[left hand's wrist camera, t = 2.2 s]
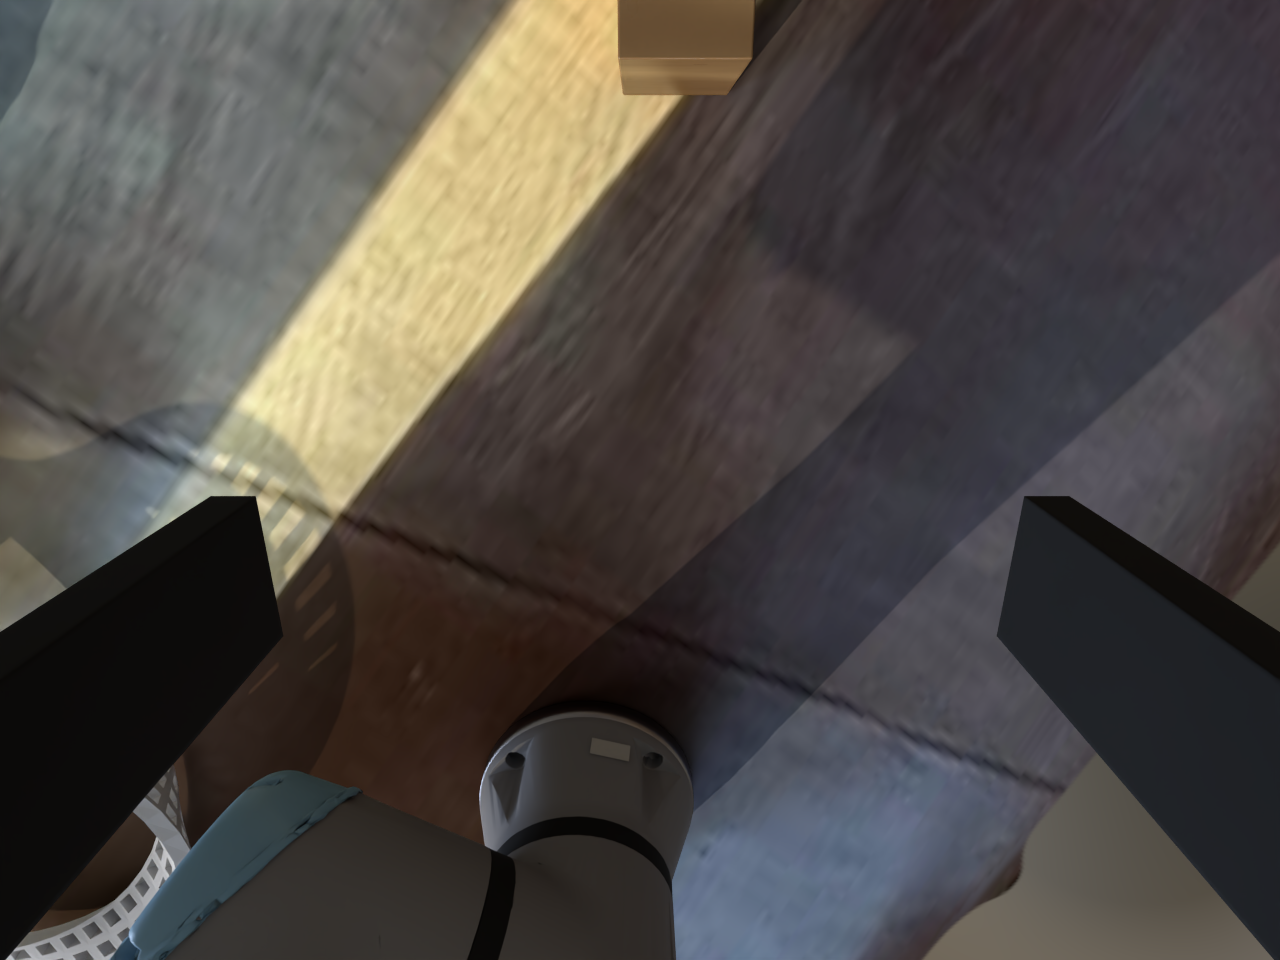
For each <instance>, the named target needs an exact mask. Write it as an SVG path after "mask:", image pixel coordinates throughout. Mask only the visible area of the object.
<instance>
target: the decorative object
mask: <svg viewBox="0 0 1280 960" xmlns="http://www.w3.org/2000/svg"><path fill="white" fill-rule="evenodd" d="M133 812H134V813H135V814H136V815H137V816H138V817H139V818H140V819H142V820H143V821H144V822H145V823H146V825H147V826H148V827H149V828H150V829H151V830H152V832H153V833H154V834H155V835H156V836H157V837H156V840H155V843H154V846H153V849H152V852H151V853H150V855H149V857H148V859H147V861H146V863H145V865H144V866H143V868H142V870H141V871H140V872H139V874H138V875H137V876H136V878H135V879H134V880H133V882H132V883H131V884H130V886H129V887H128V888H127V889H126V890H125V891H124V892H123V893H122V894H121V895H120V896H119V897H118V898H117V899H116V900H114V901H113V902H111V903H110V904H108V905H106V906H104V907H102V908H100V909H98V910H96V911H94V912H92V913H90V914H88V915H86V916H84V917H81V918H78V919H76V920H73V921H70V922H67V923H65V924H62V925H59V926H55V927H51V928H47V929H43V930H39V931H36V932H30V933H28V934H27V936H26V937H25V938H24V939H23V940H22V941H21V943H20V944H19V945H18V946H17V947H16V948H15V950H14V951H13V952H12V953H11V954H10V955H9V957H8V958H7V959H6V960H109V959H110V958H111V957H112V956H113V955H114V953H115V952H116V950H117V949H118V947H119V946H120V944H121V943H122V942H123V940H124V939H125V938H126V937H128V936H129V931H130V928H131V927H132V925H133V924H134V923H135V921H136V920H137V918H138V917H139V915H140V914H141V913H142V911H143V910H144V908H145V907H146V906H147V904H148V903H149V902H150V900H151V899H152V898H153V897H154V895H155V894H156V893H157V891H158V890H159V889H160V887H161V886H162V885H163V884H164V882H165V881H166V880H167V878H168V877H169V876H170V875H171V873H172V872H173V871H174V870H175V868H176V867H177V866H178V865H179V863H180V862H181V861H182V860H183V858H184V857H185V856H186V855H187V854H188V852H189V851H190V850H191V847H190V843H189V840H188V836H187V833H186V829H185V826H184V822H183V818H182V812H181V807H180V801H179V787H178V782H177V777H176V773H175V768H174V765H172V766H171V768H170V769H169V770H168V771H167V772H166V773H165V775H164V776H163V777H162V778H161V779H160V780H159V782H158V783H157V784H156V785H155V786H154V787H153V789H152V790H151V791H150V792H149V793H148V794H147V796H146V797H145V798H144V799H143V800H142V801H141V803H140V804H139V805H138V806H137V807H136V808H135V810H134V811H133Z"/></svg>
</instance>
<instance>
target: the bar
mask: <svg viewBox="0 0 1280 960" xmlns="http://www.w3.org/2000/svg"><path fill="white" fill-rule="evenodd" d="M754 21H755V0H618V59H619V67H620V74H621V82H622V89H623V94H624V95H727V94H728V93H729V91H730V90H731V88H732V87H733V86H734V84H735V83H736V81H737V80H738V78H739V77H740V76H741V74H742V73H743V71H744V70H745V68H746V67H747V66H748V64H749V63H750V61H751V60H752V58H753V42H754Z"/></svg>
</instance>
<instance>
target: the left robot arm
mask: <svg viewBox="0 0 1280 960" xmlns="http://www.w3.org/2000/svg"><path fill="white" fill-rule="evenodd" d="M282 637H283V632H282V627H281V622H280V617H279V612H278V607H277V602H276V597H275V592H274V587H273V582H272V577H271V572H270V567H269V561H268V556H267V551H266V546H265V541H264V536H263V531H262V526H261V521H260V516H259V511H258V506H257V501H256V496H210V497H209V498H207V499H206V500H204V501H203V502H201V503H200V504H198V505H196V506H195V507H193V508H192V509H190V510H189V511H187V512H186V513H184V514H183V515H181V516H179V517H178V518H176V519H175V520H173V521H172V522H170V523H169V524H167V525H165V526H164V527H162V528H161V529H159V530H158V531H156V532H155V533H153V534H152V535H150V536H148V537H147V538H145V539H144V540H142V541H141V542H139V543H138V544H136V545H134V546H133V547H131V548H130V549H128V550H127V551H125V552H124V553H122V554H121V555H119V556H117V557H116V558H114V559H113V560H111V561H110V562H108V563H107V564H105V565H103V566H102V567H100V568H99V569H97V570H96V571H94V572H93V573H91V574H90V575H88V576H86V577H85V578H83V579H82V580H80V581H79V582H77V583H76V584H74V585H72V586H71V587H69V588H68V589H66V590H65V591H63V592H62V593H60V594H58V595H57V596H55V597H54V598H52V599H51V600H49V601H48V602H46V603H45V604H43V605H41V606H40V607H38V608H37V609H35V610H34V611H32V612H31V613H29V614H27V615H26V616H24V617H23V618H21V619H20V620H18V621H17V622H15V623H14V624H12V625H10V626H9V627H7V628H6V629H4V630H3V631H1V632H0V960H6V959H7V958H8V957H9V955H10V954H11V953H12V952H13V951H14V950H15V948H16V947H17V946H18V945H19V944H20V943H21V941H22V940H23V939H24V938H25V937H26V936H27V934H28V933H29V932H30V931H31V930H32V929H33V927H34V926H35V925H36V924H37V923H38V922H39V920H40V919H41V918H42V917H43V916H44V915H45V913H46V912H47V911H48V910H49V909H50V908H51V906H52V905H53V904H54V903H55V902H56V901H57V899H58V898H59V897H60V896H61V895H62V894H63V892H64V891H65V890H66V889H67V888H68V887H69V885H70V884H71V883H72V882H73V881H74V880H75V878H76V877H77V876H78V875H79V874H80V873H81V871H82V870H83V869H84V868H85V867H86V866H87V864H88V863H89V862H90V861H91V860H92V859H93V857H94V856H95V855H96V854H97V853H98V852H99V850H100V849H101V848H102V847H103V846H104V845H105V843H106V842H107V841H108V840H109V839H110V838H111V836H112V835H113V834H114V833H115V832H116V831H117V829H118V828H119V827H120V826H121V825H122V824H123V822H124V821H125V820H126V819H127V818H128V817H129V815H130V814H131V813H132V812H133V811H134V810H135V808H136V807H137V806H138V805H139V804H140V803H141V801H142V800H143V799H144V798H145V797H146V796H147V794H148V793H149V792H150V791H151V790H152V789H153V787H154V786H155V785H156V784H157V783H158V782H159V780H160V779H161V778H162V777H163V776H164V775H165V773H166V772H167V771H168V770H169V769H170V768H171V766H172V765H173V764H174V763H175V762H176V760H177V759H178V758H179V757H180V756H181V755H182V753H183V752H184V751H185V750H186V749H187V748H188V746H189V745H190V744H191V743H192V742H193V741H194V739H195V738H196V737H197V736H198V735H199V734H200V732H201V731H202V730H203V729H204V728H205V727H206V725H207V724H208V723H209V722H210V721H211V720H212V718H213V717H214V716H215V715H216V714H217V713H218V711H219V710H220V709H221V708H222V707H223V706H224V704H225V703H226V702H227V701H228V700H229V699H230V697H231V696H232V695H233V694H234V693H235V692H236V690H237V689H238V688H239V687H240V686H241V685H242V683H243V682H244V681H245V680H246V679H247V678H248V676H249V675H250V674H251V673H252V672H253V671H254V669H255V668H256V667H257V666H258V665H259V664H260V662H261V661H262V660H263V659H264V658H265V657H266V655H267V654H268V653H269V652H270V651H271V650H272V648H273V647H274V646H275V645H276V644H277V643H278V641H279V640H280V639H281V638H282ZM997 637H998V638H999V639H1000V640H1001V641H1002V643H1003V644H1004V645H1005V646H1006V647H1007V648H1008V650H1009V651H1010V652H1011V653H1012V654H1013V655H1014V657H1015V658H1016V659H1017V660H1018V661H1019V662H1020V664H1021V665H1022V666H1023V667H1024V668H1025V669H1026V671H1027V672H1028V673H1029V674H1030V675H1031V676H1032V678H1033V679H1034V680H1035V681H1036V682H1037V683H1038V685H1039V686H1040V687H1041V688H1042V689H1043V690H1044V692H1045V693H1046V694H1047V695H1048V696H1049V697H1050V699H1051V700H1052V701H1053V702H1054V703H1055V704H1056V706H1057V707H1058V708H1059V709H1060V710H1061V711H1062V713H1063V714H1064V715H1065V716H1066V717H1067V718H1068V720H1069V721H1070V722H1071V723H1072V724H1073V725H1074V727H1075V728H1076V729H1077V730H1078V731H1079V732H1080V734H1081V735H1082V736H1083V737H1084V738H1085V739H1086V741H1087V742H1088V743H1089V744H1090V745H1091V746H1092V748H1093V749H1094V750H1095V751H1096V752H1097V753H1098V755H1099V756H1100V757H1101V758H1102V759H1103V760H1104V762H1105V763H1106V764H1107V765H1108V766H1109V768H1110V769H1111V770H1112V771H1113V772H1114V773H1115V775H1116V776H1117V777H1118V778H1119V779H1120V780H1121V781H1122V783H1123V784H1124V785H1125V786H1126V787H1127V789H1128V790H1129V791H1130V792H1131V793H1132V794H1133V796H1134V797H1135V798H1136V799H1137V800H1138V801H1139V803H1140V804H1141V805H1142V806H1143V807H1144V808H1145V810H1146V811H1147V812H1148V813H1149V814H1150V815H1151V816H1152V818H1153V819H1154V820H1155V821H1156V822H1157V824H1158V825H1159V826H1160V827H1161V828H1162V829H1163V831H1164V832H1165V833H1166V834H1167V835H1168V836H1169V838H1170V839H1171V840H1172V841H1173V842H1174V843H1175V845H1176V846H1177V847H1178V848H1179V849H1180V850H1181V852H1182V853H1183V854H1184V855H1185V856H1186V857H1187V859H1188V860H1189V861H1190V862H1191V863H1192V864H1193V866H1194V867H1195V868H1196V869H1197V870H1198V871H1199V873H1200V874H1201V875H1202V876H1203V877H1204V878H1205V880H1206V881H1207V882H1208V883H1209V884H1210V885H1211V887H1212V888H1213V889H1214V890H1215V891H1216V892H1217V894H1218V895H1219V896H1220V897H1221V898H1222V899H1223V901H1224V902H1225V903H1226V904H1227V905H1228V906H1229V908H1230V909H1231V910H1232V911H1233V912H1234V913H1235V915H1236V916H1237V917H1238V918H1239V919H1240V920H1241V922H1242V923H1243V924H1244V925H1245V926H1246V927H1247V929H1248V930H1249V931H1250V932H1251V933H1252V934H1253V936H1254V937H1255V938H1256V939H1257V940H1258V941H1259V943H1260V944H1261V945H1262V946H1263V947H1264V948H1265V950H1266V951H1267V952H1268V953H1269V954H1270V955H1271V957H1272V958H1273V959H1274V960H1280V632H1279V631H1277V630H1276V629H1274V628H1273V627H1271V626H1269V625H1268V624H1266V623H1265V622H1263V621H1262V620H1260V619H1259V618H1257V617H1256V616H1254V615H1252V614H1251V613H1249V612H1248V611H1246V610H1245V609H1243V608H1242V607H1240V606H1239V605H1237V604H1235V603H1234V602H1232V601H1231V600H1229V599H1228V598H1226V597H1225V596H1223V595H1222V594H1220V593H1218V592H1217V591H1215V590H1214V589H1212V588H1211V587H1209V586H1208V585H1206V584H1204V583H1203V582H1201V581H1200V580H1198V579H1197V578H1195V577H1194V576H1192V575H1190V574H1189V573H1187V572H1186V571H1184V570H1183V569H1181V568H1180V567H1178V566H1177V565H1175V564H1173V563H1172V562H1170V561H1169V560H1167V559H1166V558H1164V557H1163V556H1161V555H1159V554H1158V553H1156V552H1155V551H1153V550H1152V549H1150V548H1149V547H1147V546H1146V545H1144V544H1142V543H1141V542H1139V541H1138V540H1136V539H1135V538H1133V537H1132V536H1130V535H1128V534H1127V533H1125V532H1124V531H1122V530H1121V529H1119V528H1118V527H1116V526H1115V525H1113V524H1111V523H1110V522H1108V521H1107V520H1105V519H1104V518H1102V517H1101V516H1099V515H1097V514H1096V513H1094V512H1093V511H1091V510H1090V509H1088V508H1087V507H1085V506H1084V505H1082V504H1080V503H1079V502H1077V501H1076V500H1074V499H1073V498H1071V497H1070V496H1024V501H1023V506H1022V511H1021V516H1020V521H1019V526H1018V531H1017V536H1016V541H1015V546H1014V551H1013V556H1012V561H1011V567H1010V572H1009V577H1008V582H1007V587H1006V592H1005V597H1004V602H1003V607H1002V612H1001V617H1000V622H999V627H998V632H997ZM362 793H363V791H362V790H360V789H359V788H356V787H350V788H346V787H343V786H340V785H337V784H334V783H331V782H328V781H326V780H323V779H320V778H317V777H314V776H311V775H308V774H306V773H303V772H300V771H294V770H285V771H280V772H275V773H272V774H270V775H267V776H265V777H263V778H262V779H260V780H258V781H257V782H255V783H254V784H253V785H252V786H250V787H249V788H248V789H247V790H245V791H244V792H243V793H242V794H241V795H240V796H239V797H238V798H237V799H236V800H235V801H234V802H233V803H232V804H231V805H230V806H229V807H228V808H227V809H226V810H225V811H224V812H223V813H222V814H221V815H220V816H219V817H218V819H217V820H216V821H215V822H214V823H213V824H212V825H211V827H210V828H209V829H208V830H207V831H206V832H205V833H204V835H203V836H202V837H201V838H200V839H199V840H198V842H197V843H196V844H195V845H194V846H193V848H192V849H191V850H190V851H189V852H188V854H187V855H186V856H185V857H184V858H183V860H182V861H181V862H180V863H179V865H178V866H177V867H176V868H175V870H174V871H173V872H172V873H171V875H170V876H169V877H168V878H167V880H166V881H165V882H164V884H163V885H162V886H161V887H160V889H159V890H158V891H157V893H156V894H155V895H154V897H153V898H152V899H151V900H150V902H149V903H148V904H147V906H146V907H145V908H144V910H143V911H142V913H141V914H140V915H139V917H138V918H137V920H136V921H135V923H134V924H133V925H132V927H131V928H130V931H129V936H128V937H126V938H125V939H124V940H123V942H122V943H121V944H120V946H119V947H118V949H117V950H116V952H115V953H114V955H113V956H112V957H111V958H110V959H109V960H676V951H675V933H674V915H673V900H672V879H673V876H674V873H675V870H676V867H677V864H678V861H679V857H680V854H681V851H682V848H683V845H684V842H685V839H686V836H687V833H688V830H689V827H690V823H691V819H692V814H693V806H694V801H693V787H692V777H691V771H690V768H689V764H688V762H687V759H686V757H685V755H684V753H683V751H682V749H681V748H680V746H679V745H678V743H677V742H676V741H675V739H674V738H673V737H672V736H671V735H670V734H669V733H668V732H667V731H666V730H665V729H664V728H663V727H661V726H660V725H659V724H657V723H656V722H655V721H653V720H651V719H650V718H648V717H647V716H645V715H643V714H641V713H639V712H636V711H634V710H631V709H629V708H626V707H622V706H619V705H615V704H610V703H604V702H596V701H575V702H567V703H561V704H556V705H552V706H549V707H546V708H543V709H540V710H538V711H535V712H533V713H531V714H529V715H527V716H526V717H524V718H522V719H521V720H519V721H518V722H516V723H515V724H514V725H513V726H511V727H510V728H509V729H508V730H507V731H506V732H505V733H504V734H503V735H502V736H501V738H500V739H499V740H498V741H497V743H496V744H495V746H494V748H493V749H492V751H491V753H490V756H489V758H488V761H487V764H486V768H485V771H484V775H483V778H482V782H481V787H480V812H481V820H482V827H483V834H484V842H485V846H484V845H482V844H479V843H477V842H474V841H472V840H470V839H467V838H465V837H462V836H460V835H458V834H455V833H453V832H450V831H448V830H446V829H443V828H441V827H439V826H436V825H434V824H431V823H429V822H427V821H424V820H422V819H419V818H417V817H415V816H412V815H410V814H407V813H405V812H403V811H400V810H398V809H395V808H393V807H391V806H388V805H386V804H384V803H382V802H379V801H377V800H375V799H373V798H371V797H368V796H366V795H364V794H362Z"/></svg>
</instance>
